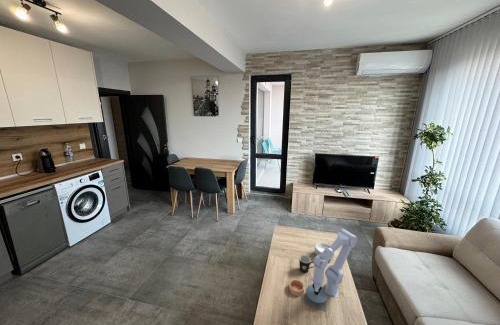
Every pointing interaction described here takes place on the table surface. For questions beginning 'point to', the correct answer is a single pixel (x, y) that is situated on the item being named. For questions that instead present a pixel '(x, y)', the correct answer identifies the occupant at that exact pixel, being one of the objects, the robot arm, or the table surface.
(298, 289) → the bowl
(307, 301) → the mat
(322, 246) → the paper bowls
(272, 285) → the table surface
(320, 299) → the lid
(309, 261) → the coffee mug
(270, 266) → the table surface
